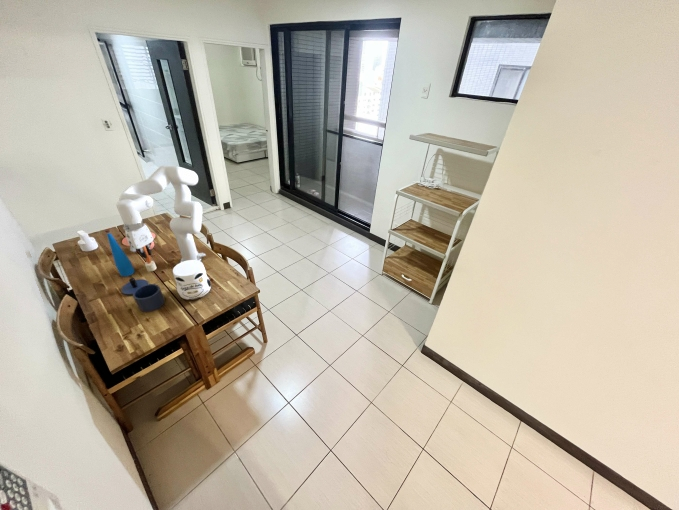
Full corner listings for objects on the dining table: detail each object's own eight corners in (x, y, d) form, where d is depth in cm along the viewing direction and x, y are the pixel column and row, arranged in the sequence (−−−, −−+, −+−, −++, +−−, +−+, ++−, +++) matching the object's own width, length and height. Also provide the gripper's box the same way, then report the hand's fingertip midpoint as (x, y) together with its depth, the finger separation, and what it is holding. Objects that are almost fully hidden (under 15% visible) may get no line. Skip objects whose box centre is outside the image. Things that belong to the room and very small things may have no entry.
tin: (153, 294, 156) (147, 281, 151) (169, 299, 153) (164, 287, 148) (133, 308, 147) (127, 295, 141) (151, 314, 144) (145, 301, 139)
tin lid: (137, 278, 166) (133, 270, 162) (154, 284, 163) (150, 275, 159) (116, 292, 156) (112, 283, 152) (134, 298, 153) (129, 289, 149)
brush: (156, 265, 151) (145, 236, 140) (156, 270, 148) (144, 240, 137) (147, 267, 149) (135, 237, 139) (146, 272, 146) (134, 241, 135)
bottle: (126, 277, 166) (105, 234, 149) (117, 274, 168) (96, 231, 151) (137, 271, 172) (118, 228, 155) (128, 268, 174) (109, 225, 157)
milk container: (191, 307, 149) (182, 281, 139) (173, 294, 157) (163, 269, 147) (218, 289, 162) (212, 265, 152) (200, 279, 169) (192, 255, 159)
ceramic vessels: (118, 237, 202) (107, 214, 192) (150, 228, 215) (142, 206, 205) (132, 257, 183) (121, 233, 172) (166, 246, 196) (158, 223, 185)
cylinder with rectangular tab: (100, 247, 191) (92, 232, 184) (85, 252, 185) (76, 237, 178) (94, 243, 195) (86, 228, 188) (79, 248, 188) (70, 233, 182)
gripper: (124, 233, 126) (138, 265, 136) (154, 219, 139) (164, 250, 149) (112, 230, 128) (127, 262, 138) (143, 217, 141) (154, 247, 151)
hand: (146, 255), depth 143 cm, fingers closed on brush, 2 cm apart
